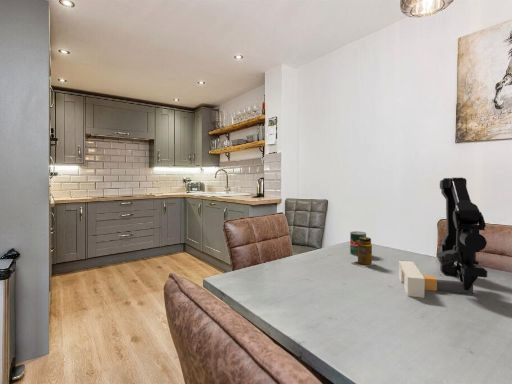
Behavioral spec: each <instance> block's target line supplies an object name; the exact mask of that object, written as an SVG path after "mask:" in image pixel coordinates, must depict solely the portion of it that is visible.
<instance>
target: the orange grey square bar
mask: <svg viewBox="0 0 512 384" xmlns="http://www.w3.org/2000/svg"><path fill="white" fill-rule="evenodd" d="M422 276H423V277H424V279H425V289H424V291H435V292H437V291H444V292H452V293H464V294H474V283H473V284H472V286H471V287H470V289H469V290H464V285H463V282H460V280H459V281H458V280H457V281H456V280H445V279H437V278H436V277H435V275H427V274H422Z"/></svg>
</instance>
